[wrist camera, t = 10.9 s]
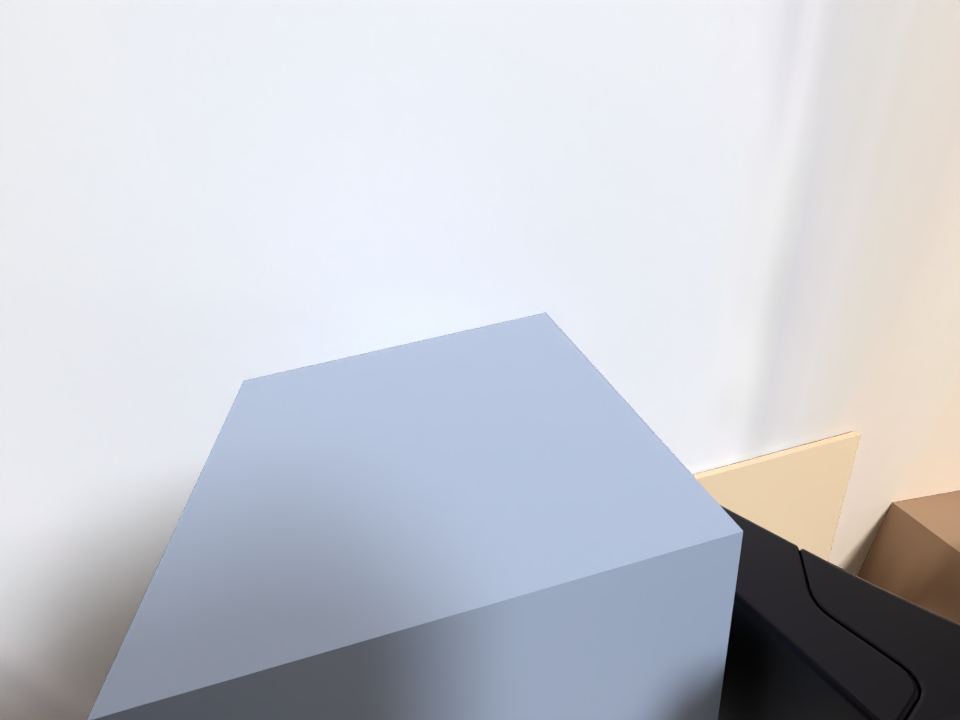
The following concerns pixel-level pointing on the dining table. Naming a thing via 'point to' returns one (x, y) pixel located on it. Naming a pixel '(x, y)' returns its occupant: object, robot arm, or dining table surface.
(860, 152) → the dining table surface
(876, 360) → the dining table surface
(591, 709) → the cube
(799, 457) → the letter
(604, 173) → the dining table surface
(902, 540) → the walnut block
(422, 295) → the dining table surface
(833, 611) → the robot arm
